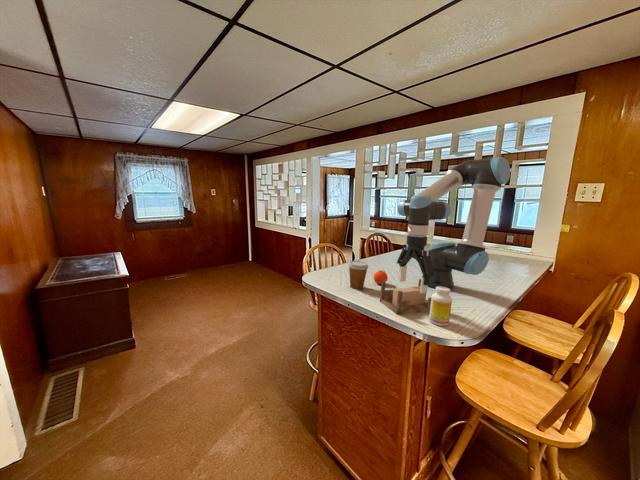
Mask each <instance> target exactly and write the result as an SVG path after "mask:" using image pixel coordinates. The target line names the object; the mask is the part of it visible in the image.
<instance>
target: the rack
mask: <svg viewBox="0 0 640 480" xmlns="http://www.w3.org/2000/svg"><path fill="white" fill-rule="evenodd" d="M386 283H387V281H386V282H385V281H382V283H381V284H380V292H379V293H380V294H379V295H380V296H379V302H380V303H381V304H382V305H383V306H385V307H387V309H389V310H391V311H392V312H393V313H394V314H396V315H399V316H400V315H408V314H417V313H418V314H419V313H430V306H431V298H432V296H431V297H427V299H426V301H425V303H423V304H416V305H410V300H409V299H406V300H402V293H403V292H402V291H398V296H397V306H396V305H394V304H392V299H393V289H386ZM417 286H420V287H421V278H419V279H418V285H417Z"/></svg>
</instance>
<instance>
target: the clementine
mask: <svg viewBox="0 0 640 480" xmlns="http://www.w3.org/2000/svg"><path fill="white" fill-rule="evenodd" d="M373 280H374V282H375V283H376V284H378V285H381V283H382V281H385V282H386V283H387V281H388V274H387V273H386V271H385V270H378V271H375V272H374V275H373Z"/></svg>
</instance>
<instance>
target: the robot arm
mask: <svg viewBox="0 0 640 480" xmlns="http://www.w3.org/2000/svg"><path fill="white" fill-rule="evenodd" d="M510 177H511V166H510V164H509V162H508V160H507V159H506V158H505V157H496V156H495V157H490V158H488V157H487V158H481V159H480V158H476V159H469V160H465V161H462V162H460V164H457V165H455V166H453V167H452V168H450V169H449V170H447V171H446V172H444V175H443V176H442V177H440V178H439V179H438V180H437V181H435V182H433V183H432V184H430V185H429V186H427V187H426V188H425V189H424V190H422V191H421V192H419V193H418V194H416V195H413V196H411V198H410V199H402V200H400V201H399V203H398V204H397V213H398V214H399V215H400V216H401V217H406V218H408V226H407V236H406V243H405V244H403V245H402V250H401V252H400V254H399V257H398V259H397V261H396V264H399V280H398V281H399V282H403V283H404V282H406V280H407V271H408V269H407V266H408V263H409V262H410V261H411V259H414V260H415V261H416V262H417V263H418V266H419V268H420V271H421V274H422V276H421V278H420V279H421V287H420V293H426V294H427V293H428V289H429V288H431V289H432V288H433V289H436V287H437V286H442V287H446V288H449V289H450V290H452V289H454V287H455V286H454V285H455V281H454V279H453V271H457V272H461V273H464V274H466V275H472V276H478V275H480V274H482V273H483V272H484V270H485V269H486V268H487V266H488V264H489V259H490V258H489V256H490V255H489V253H488V252H487V251H486V246H485V244H484V240H485V237H486V232H487V229H488V224H489V220H490V216H491V212H492V209H493V203H494V200H495V196H496V193H497V192H498V191H500V190H501V188H502V185H505V184H507V183H508V182H509V180H510ZM464 185H465V186H466V185H471V188H472V190H473V195H472V198H471V202H470V206H469V211H468V215H467V218H466V223H465V226H464V231H463V235H462V238H461V240H458V242H457V244H456V242H454V241H434V242H431V243H430V245H429V246H430V247H429V249H428V250H425V247H426V246H427V242H428V237H427V236H428V235H429V226H430V225H429V224H430V223H429V222H430V221H434V220H435V221H441V220H447V219H448V218H449V217H450V215H451V213H452V208H451V205H450V203H449V202H446V201H442V200H441V201H440V199H441V198H442V197H444V196H445V195H447V194H448V193H449V192H451V191H453V189H458V188H460V187H461V186H464Z"/></svg>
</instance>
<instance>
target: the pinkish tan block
mask: <svg viewBox="0 0 640 480" xmlns="http://www.w3.org/2000/svg"><path fill="white" fill-rule="evenodd" d="M398 291H402V292H403V293H402V300H406V299H409V300H410V305H416V304H423V303H425V301H426V300H427V293H420V286H418V285H417V286H410V287H402V288H401V287H400V288H394V289H393V299H392V304H394V305H396V306H397V296H398Z"/></svg>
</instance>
